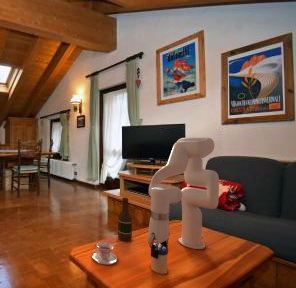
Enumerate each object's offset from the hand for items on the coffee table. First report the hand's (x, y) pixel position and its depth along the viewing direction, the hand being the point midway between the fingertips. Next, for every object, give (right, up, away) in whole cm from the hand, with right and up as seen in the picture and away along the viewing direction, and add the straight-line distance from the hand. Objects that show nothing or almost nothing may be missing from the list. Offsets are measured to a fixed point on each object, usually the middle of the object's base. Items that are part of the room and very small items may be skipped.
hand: (159, 254), depth 97 cm
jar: (0, -7, 0) cm, 7 cm away
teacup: (-23, -7, +9) cm, 25 cm away
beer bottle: (-6, -6, +30) cm, 31 cm away
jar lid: (0, +3, 0) cm, 3 cm away
